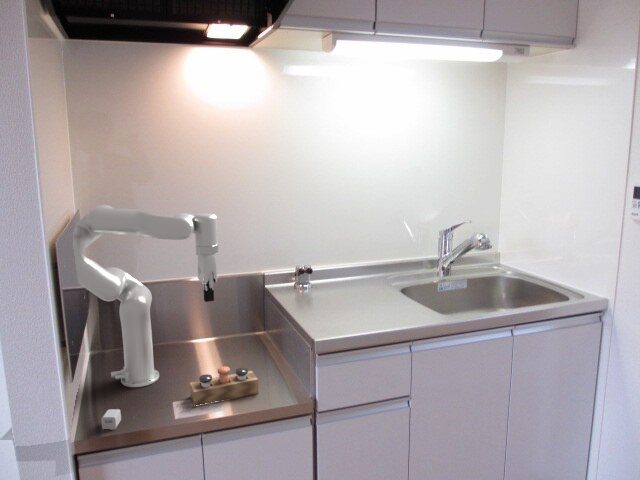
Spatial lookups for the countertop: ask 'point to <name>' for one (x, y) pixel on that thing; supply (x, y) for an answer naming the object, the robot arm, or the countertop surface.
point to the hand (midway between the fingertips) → (209, 300)
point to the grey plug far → (241, 373)
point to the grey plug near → (205, 380)
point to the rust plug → (224, 374)
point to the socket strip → (224, 389)
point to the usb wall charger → (111, 419)
